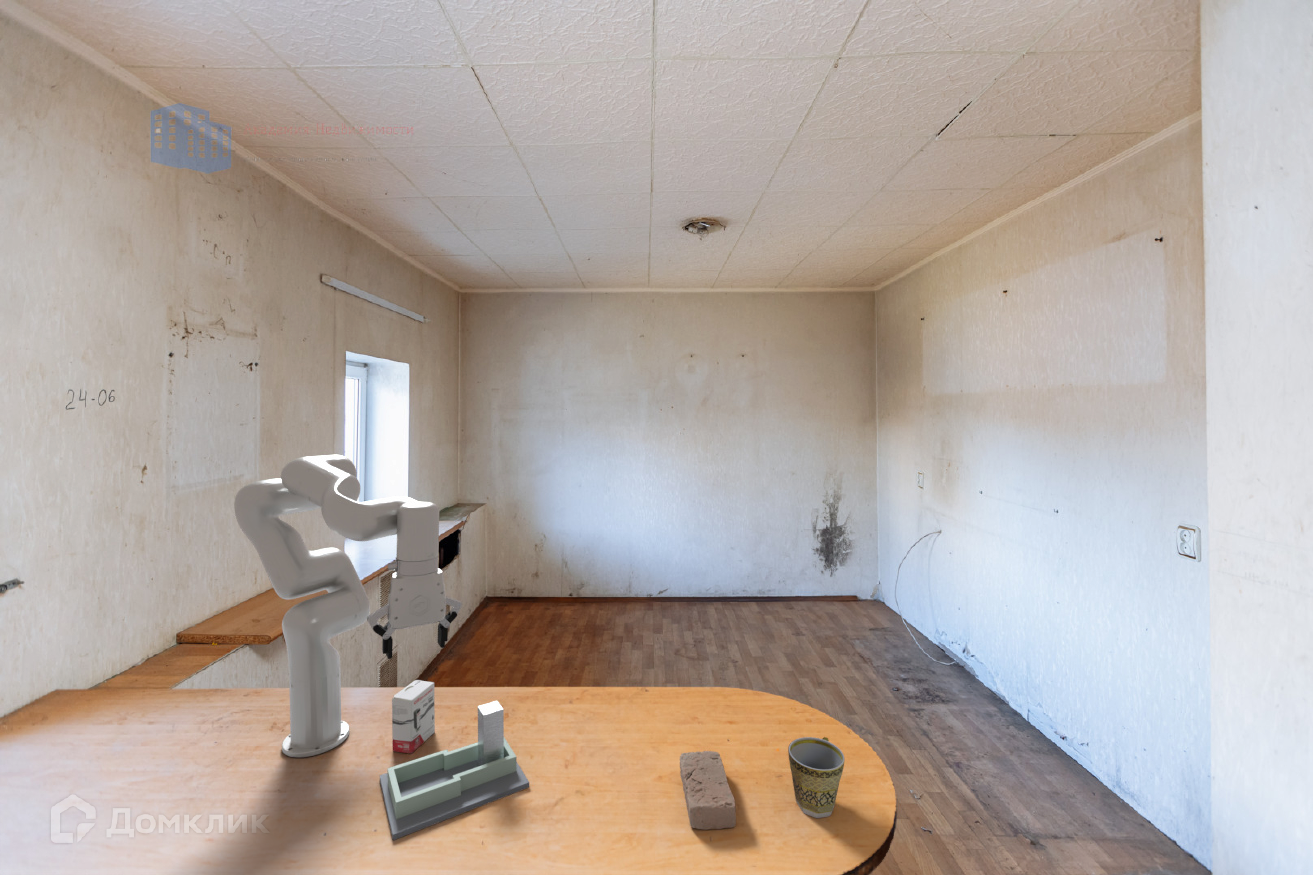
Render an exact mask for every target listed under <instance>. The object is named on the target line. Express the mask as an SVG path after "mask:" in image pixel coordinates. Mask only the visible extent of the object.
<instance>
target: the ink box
mask: <svg viewBox="0 0 1313 875" xmlns="http://www.w3.org/2000/svg"><path fill="white" fill-rule="evenodd" d="M391 719H392V720H391V722H392V723H391V724H392V725H391V726H392V727H391V728H392V729H391V730H392V731H391V732H392V733H391V736H392V739H391V740H392V742H391V743H392V751H393V752H396V753H403V754H413V753H414V752H415V751H417V749H419V747H421V746H422V744H424V743H425V742H426V741H427V740H428V739H429V738H431V736H432V735H434V734H435V732H436V727H435V726H436V725H435V724H436V722H435V682H434V681H426V680H425V681H424V680H421V679H415V680H413V681H412V682H411V683H409V684H407V686H405V687H404V688H403V689H401V690H399V691H397V693H396V694H394V695H393V698H392V699H391ZM424 741H425V742H424Z"/></svg>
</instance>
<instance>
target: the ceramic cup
mask: <svg viewBox="0 0 1313 875" xmlns="http://www.w3.org/2000/svg"><path fill="white" fill-rule="evenodd" d="M787 752H788V761H789V768H790V772H791V778H792V785H793V791H794V798H795V802H796V804H797V806H798V807H799V809H800V810H801V811H802V813H803V814H805V815H808V816H809V817H812V818H815V819H822V818H827V817H830V816H831V815H832V813H833V811H834V808H835V805H836V800H837V795H838V791H839V785H840V782H841V779H842V776H843V771H844V765H845V761H846V760H845V759H846V758H845V755H844V753H843V751H842V750H841V748H839V747H838V746H836V745H835V744H834V743H832V742H830V741H829V738H828V737H825V736H824V737H823V738H819V737H812V736H810V737H809V736H806V737H805V736H804V737H799V738H796V739H794V740H792V741H791V742H790V744H789V745H788V749H787Z"/></svg>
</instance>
